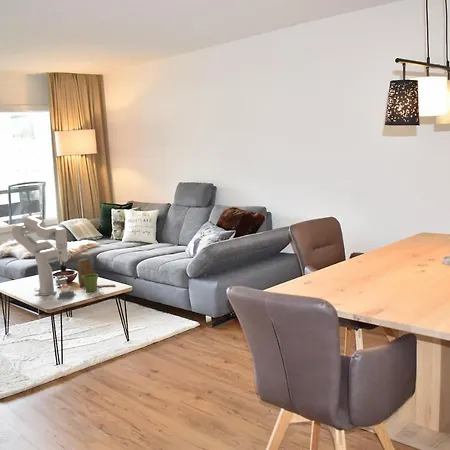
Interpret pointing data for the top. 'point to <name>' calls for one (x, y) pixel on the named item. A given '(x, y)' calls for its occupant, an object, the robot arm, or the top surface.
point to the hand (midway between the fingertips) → (63, 271)
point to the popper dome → (65, 289)
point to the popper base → (66, 295)
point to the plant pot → (90, 282)
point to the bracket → (105, 285)
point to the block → (84, 269)
